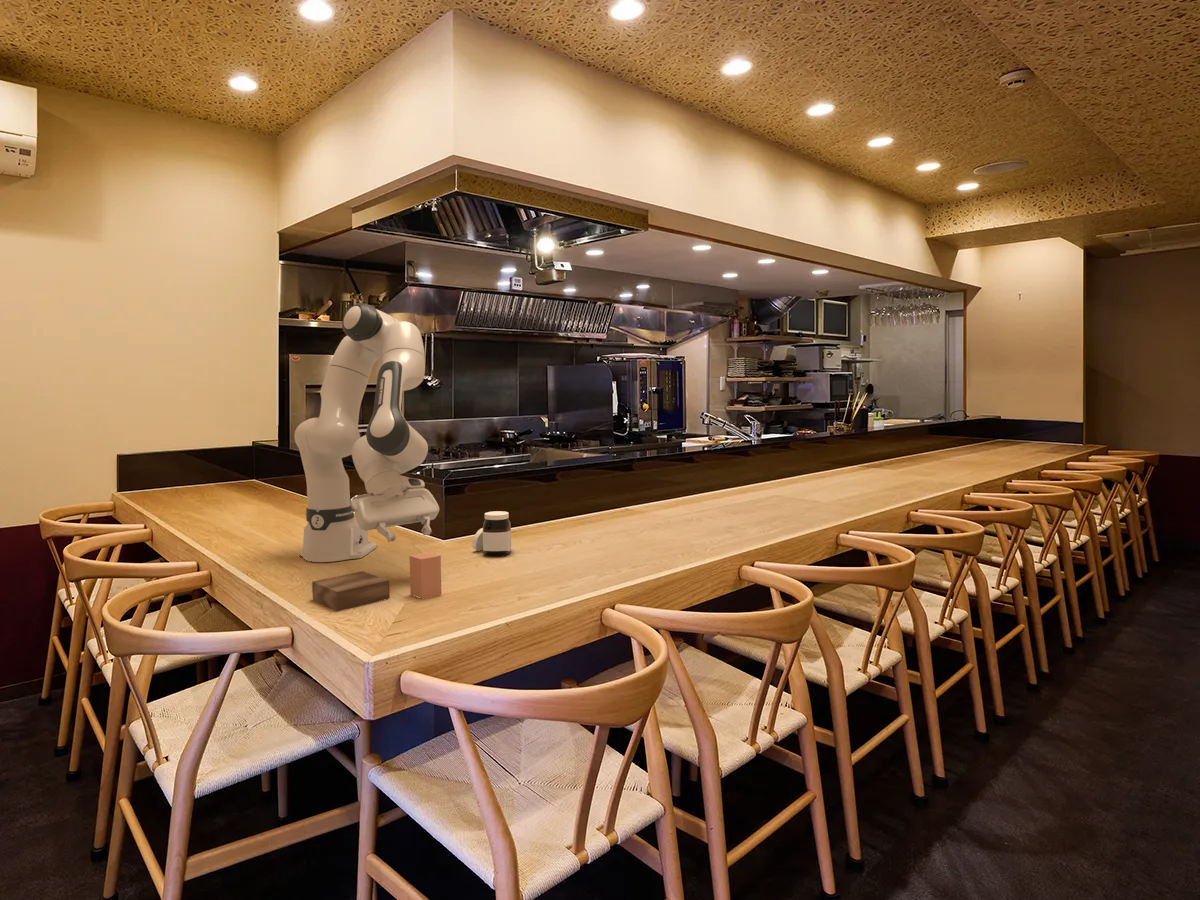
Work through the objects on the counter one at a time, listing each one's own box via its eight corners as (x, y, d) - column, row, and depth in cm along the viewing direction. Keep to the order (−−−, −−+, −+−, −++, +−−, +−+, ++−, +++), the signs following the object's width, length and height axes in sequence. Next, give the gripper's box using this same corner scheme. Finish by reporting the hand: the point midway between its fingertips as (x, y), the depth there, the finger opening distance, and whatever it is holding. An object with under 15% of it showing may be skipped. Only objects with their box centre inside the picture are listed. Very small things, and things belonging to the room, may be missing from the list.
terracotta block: (410, 594, 157) (409, 555, 156) (429, 590, 160) (428, 552, 160) (421, 599, 153) (420, 559, 153) (441, 594, 157) (440, 555, 156)
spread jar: (508, 557, 192) (507, 516, 191) (467, 557, 192) (466, 516, 191) (514, 548, 204) (513, 509, 203) (476, 548, 204) (475, 509, 203)
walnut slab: (312, 601, 154) (312, 581, 153) (363, 590, 162) (362, 571, 162) (338, 612, 145) (337, 591, 145) (389, 600, 154) (389, 580, 154)
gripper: (351, 488, 160) (373, 535, 154) (428, 479, 174) (451, 522, 168) (343, 505, 163) (365, 552, 157) (419, 495, 178) (442, 537, 172)
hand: (410, 536), depth 163 cm, fingers open, 8 cm apart
